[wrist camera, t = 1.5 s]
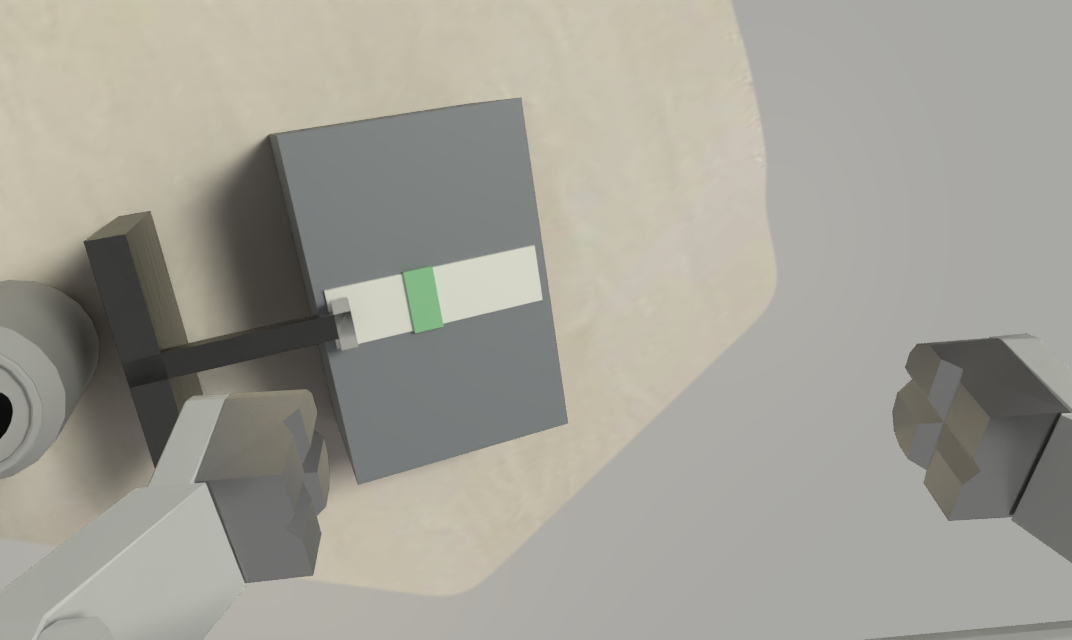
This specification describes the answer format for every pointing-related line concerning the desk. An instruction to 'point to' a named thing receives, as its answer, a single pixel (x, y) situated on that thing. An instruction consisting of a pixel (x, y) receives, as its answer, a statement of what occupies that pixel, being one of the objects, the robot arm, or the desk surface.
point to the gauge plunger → (179, 327)
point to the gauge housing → (426, 280)
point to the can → (40, 368)
